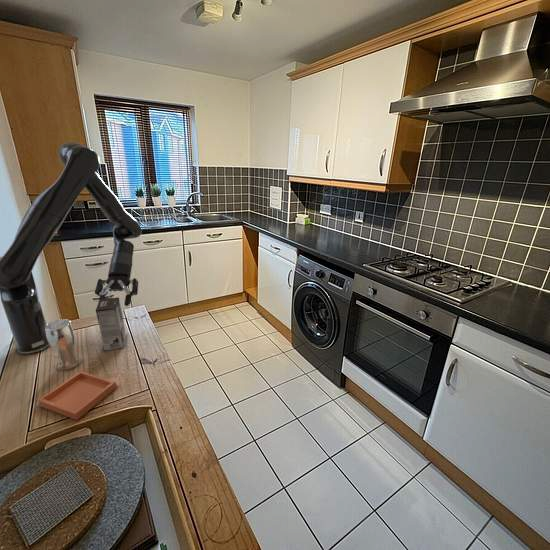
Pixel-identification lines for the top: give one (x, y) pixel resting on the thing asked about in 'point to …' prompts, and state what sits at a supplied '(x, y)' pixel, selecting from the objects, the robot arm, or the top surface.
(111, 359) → the top surface
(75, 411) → the tray
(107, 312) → the coffee box
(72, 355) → the beer glass
